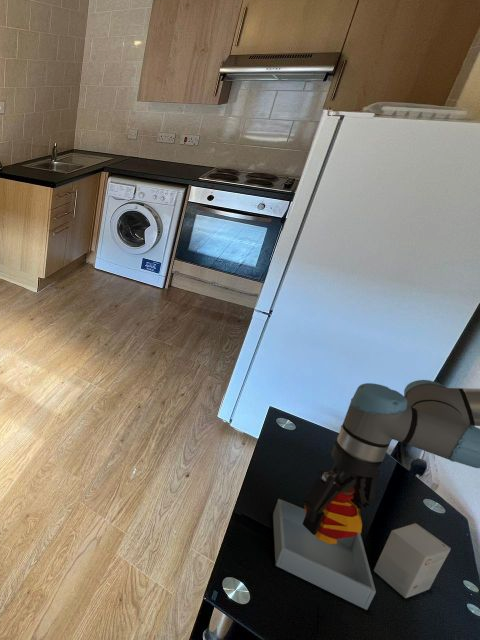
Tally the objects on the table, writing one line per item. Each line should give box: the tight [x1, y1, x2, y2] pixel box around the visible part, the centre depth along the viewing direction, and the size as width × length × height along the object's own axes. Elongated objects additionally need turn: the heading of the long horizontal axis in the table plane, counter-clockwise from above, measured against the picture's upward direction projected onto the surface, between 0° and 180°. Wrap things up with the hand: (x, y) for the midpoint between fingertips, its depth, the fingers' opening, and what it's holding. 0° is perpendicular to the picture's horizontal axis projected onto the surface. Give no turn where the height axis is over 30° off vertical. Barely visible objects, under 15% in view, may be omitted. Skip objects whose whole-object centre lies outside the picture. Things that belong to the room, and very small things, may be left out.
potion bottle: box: [303, 482, 363, 544], centre depth 93 cm, size 10×10×15 cm
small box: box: [373, 522, 451, 599], centre depth 92 cm, size 8×6×13 cm
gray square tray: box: [272, 498, 377, 611], centre depth 97 cm, size 16×16×6 cm
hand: (327, 525), depth 95 cm, fingers closed on potion bottle, 10 cm apart
